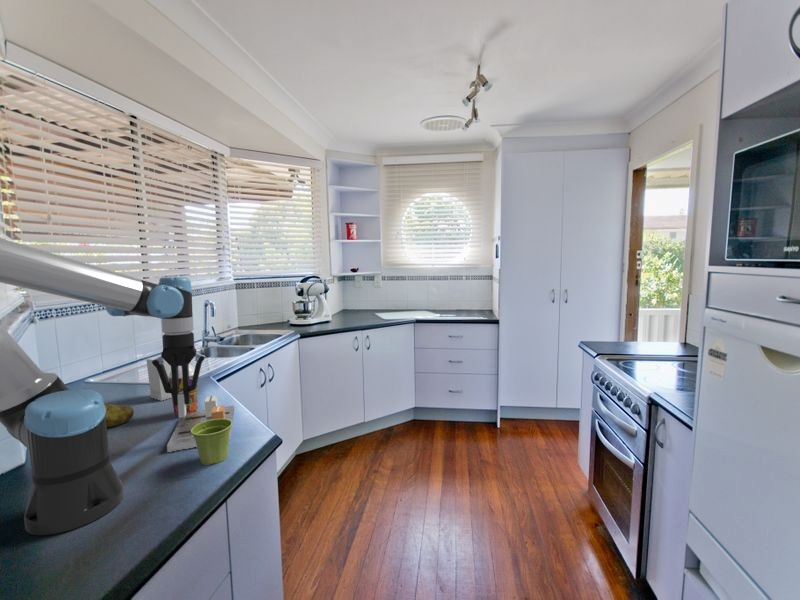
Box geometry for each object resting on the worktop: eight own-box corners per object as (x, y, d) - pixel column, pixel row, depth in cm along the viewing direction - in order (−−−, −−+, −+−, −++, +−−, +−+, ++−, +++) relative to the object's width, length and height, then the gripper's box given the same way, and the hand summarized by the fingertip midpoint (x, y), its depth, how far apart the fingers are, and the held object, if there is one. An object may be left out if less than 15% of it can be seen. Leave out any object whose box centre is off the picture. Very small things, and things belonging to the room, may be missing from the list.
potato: (136, 424, 118) (134, 399, 117) (83, 436, 110) (80, 410, 109) (133, 416, 124) (131, 393, 124) (83, 428, 116) (80, 403, 115)
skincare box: (178, 396, 143) (175, 356, 142) (160, 402, 138) (156, 360, 137) (167, 393, 148) (164, 354, 147) (149, 398, 142) (145, 358, 141)
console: (167, 452, 99) (166, 445, 98) (183, 419, 121) (183, 412, 121) (229, 441, 104) (229, 434, 104) (234, 411, 126) (233, 405, 126)
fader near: (212, 429, 106) (211, 412, 106) (214, 423, 111) (213, 406, 110) (224, 427, 107) (223, 410, 107) (225, 421, 112) (224, 405, 112)
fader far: (205, 417, 115) (204, 401, 115) (207, 411, 120) (206, 396, 120) (216, 415, 116) (215, 400, 116) (218, 410, 121) (216, 395, 121)
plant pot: (242, 452, 97) (240, 420, 96) (213, 471, 88) (211, 436, 88) (215, 447, 100) (212, 416, 100) (184, 465, 92) (181, 431, 91)
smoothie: (187, 419, 121) (182, 358, 119) (165, 418, 122) (160, 358, 120) (206, 409, 129) (201, 352, 127) (185, 408, 130) (180, 352, 129)
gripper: (206, 329, 109) (209, 408, 111) (154, 332, 105) (158, 414, 106) (202, 332, 102) (206, 416, 104) (146, 336, 98) (152, 424, 99)
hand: (182, 415), depth 105 cm, fingers closed
